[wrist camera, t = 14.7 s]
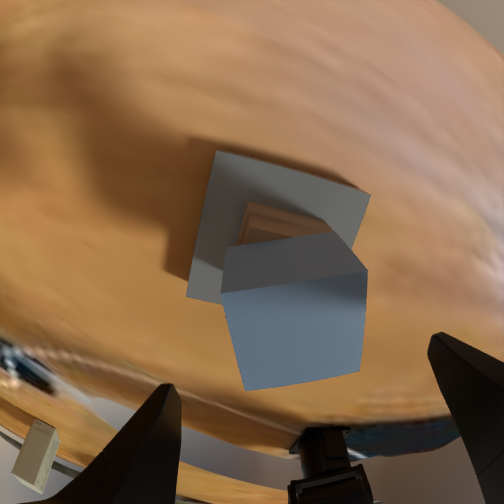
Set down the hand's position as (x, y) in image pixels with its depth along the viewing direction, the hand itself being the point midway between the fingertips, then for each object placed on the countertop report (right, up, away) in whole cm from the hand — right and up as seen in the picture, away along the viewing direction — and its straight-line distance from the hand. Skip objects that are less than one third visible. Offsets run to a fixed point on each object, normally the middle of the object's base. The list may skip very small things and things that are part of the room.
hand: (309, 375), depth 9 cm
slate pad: (0, +5, +12) cm, 13 cm away
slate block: (0, +2, +5) cm, 6 cm away
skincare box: (-36, -26, +24) cm, 50 cm away
